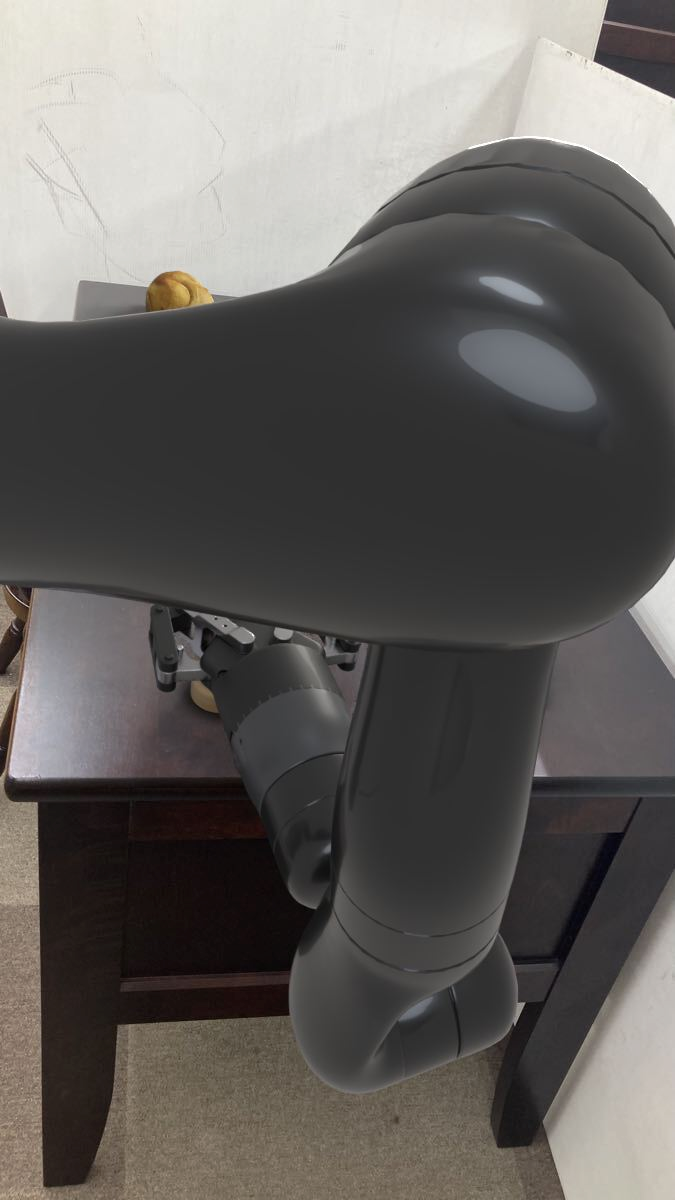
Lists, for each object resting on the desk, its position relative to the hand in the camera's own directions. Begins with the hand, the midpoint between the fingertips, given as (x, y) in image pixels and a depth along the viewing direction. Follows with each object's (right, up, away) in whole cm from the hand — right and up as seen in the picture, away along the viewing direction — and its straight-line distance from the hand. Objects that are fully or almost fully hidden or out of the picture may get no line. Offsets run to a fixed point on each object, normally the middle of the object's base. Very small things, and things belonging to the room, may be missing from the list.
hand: (224, 573), depth 65 cm
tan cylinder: (-1, -9, +4) cm, 10 cm away
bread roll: (-14, +37, +62) cm, 74 cm away
